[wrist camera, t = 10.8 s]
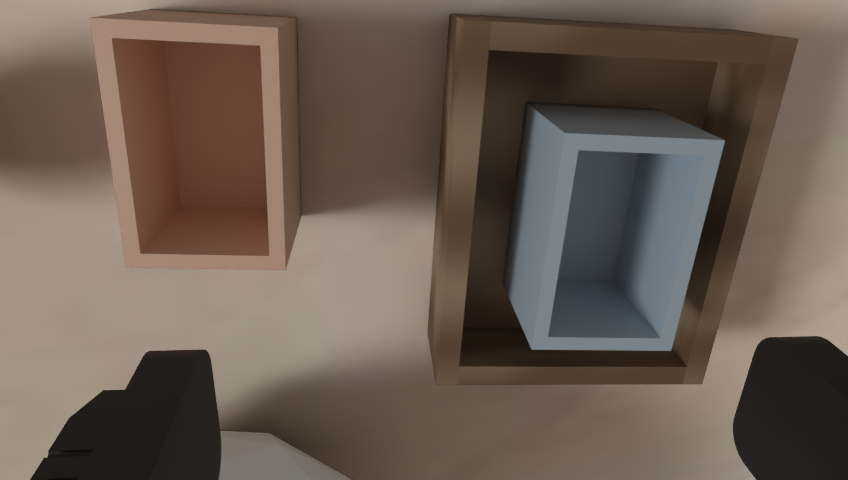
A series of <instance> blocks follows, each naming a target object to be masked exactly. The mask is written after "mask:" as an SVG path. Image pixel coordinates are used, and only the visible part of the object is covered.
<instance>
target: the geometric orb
mask: <svg viewBox="0 0 848 480" xmlns="http://www.w3.org/2000/svg"><path fill="white" fill-rule="evenodd" d="M220 433H221V466H220V474H219V480H352V479H350V478H348V477H346V476H344V475H343V474H341V473H339V472H337V471H336V470H334V469H332V468H330V467H328V466H327V465H325V464H323V463H321V462H320V461H318V460H316V459H314V458H312V457H311V456H309V455H307V454H305V453H304V452H302V451H300V450H298V449H296V448H295V447H293V446H291V445H289V444H288V443H286V442H284V441H282V440H280V439H279V438H277V437H275V436H273V435H272V434H270V433H257V432H235V431H220Z"/></svg>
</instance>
